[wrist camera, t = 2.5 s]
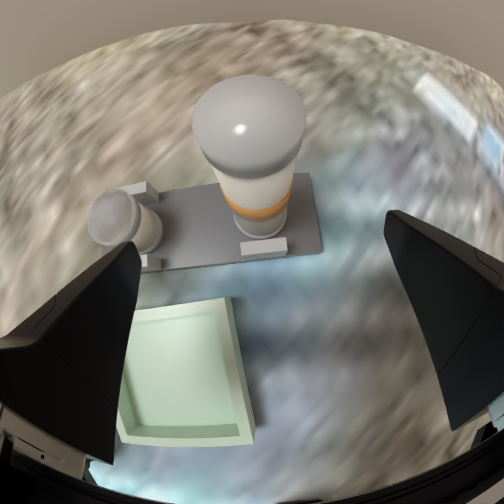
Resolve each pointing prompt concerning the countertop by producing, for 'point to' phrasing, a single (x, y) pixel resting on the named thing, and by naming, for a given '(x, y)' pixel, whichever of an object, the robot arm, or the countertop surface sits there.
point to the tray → (185, 379)
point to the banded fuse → (252, 147)
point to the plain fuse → (124, 222)
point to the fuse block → (221, 228)
